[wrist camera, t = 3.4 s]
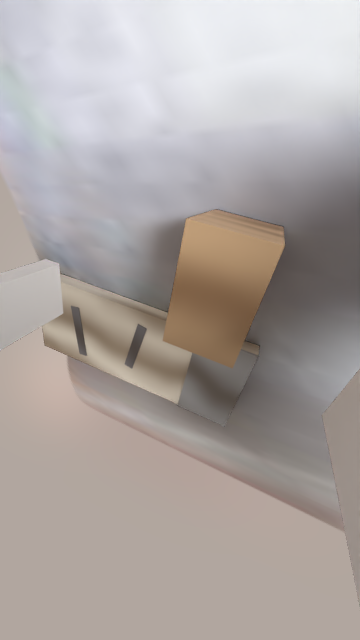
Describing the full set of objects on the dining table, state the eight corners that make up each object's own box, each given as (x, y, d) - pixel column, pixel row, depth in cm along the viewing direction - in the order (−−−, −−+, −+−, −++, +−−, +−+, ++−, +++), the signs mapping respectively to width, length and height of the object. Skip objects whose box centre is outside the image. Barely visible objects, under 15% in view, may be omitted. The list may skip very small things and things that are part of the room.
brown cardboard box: (216, 209, 18) (186, 218, 12) (283, 226, 17) (285, 245, 11) (192, 301, 22) (162, 340, 16) (245, 319, 21) (232, 368, 15)
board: (45, 268, 27) (32, 272, 25) (259, 346, 22) (258, 356, 20) (53, 339, 32) (43, 346, 30) (227, 414, 27) (224, 426, 26)
